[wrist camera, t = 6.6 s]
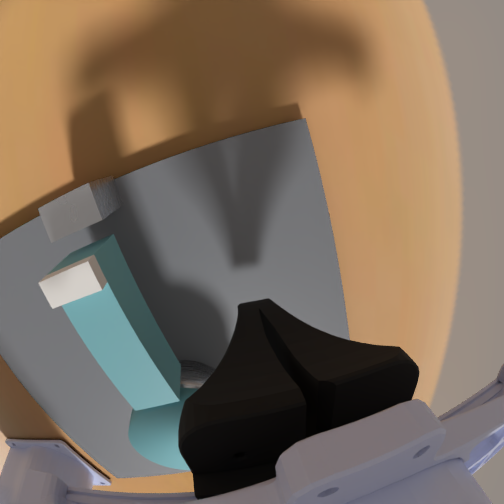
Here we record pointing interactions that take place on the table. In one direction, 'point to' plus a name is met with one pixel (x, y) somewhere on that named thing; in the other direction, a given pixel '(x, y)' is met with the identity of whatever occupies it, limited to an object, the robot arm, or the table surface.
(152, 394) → the teal elongated piece
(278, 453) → the robot arm
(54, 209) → the block
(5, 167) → the table surface
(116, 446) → the base board
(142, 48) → the table surface
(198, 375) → the post
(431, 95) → the table surface
